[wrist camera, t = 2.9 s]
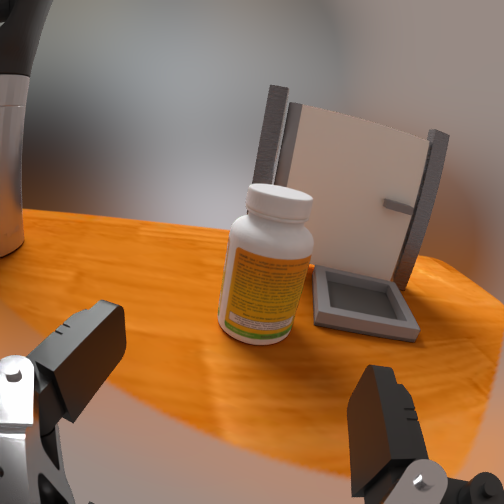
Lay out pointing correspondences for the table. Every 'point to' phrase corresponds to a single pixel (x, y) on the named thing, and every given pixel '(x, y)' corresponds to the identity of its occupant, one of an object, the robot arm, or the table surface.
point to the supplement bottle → (266, 265)
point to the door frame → (424, 196)
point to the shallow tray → (361, 305)
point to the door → (352, 186)
